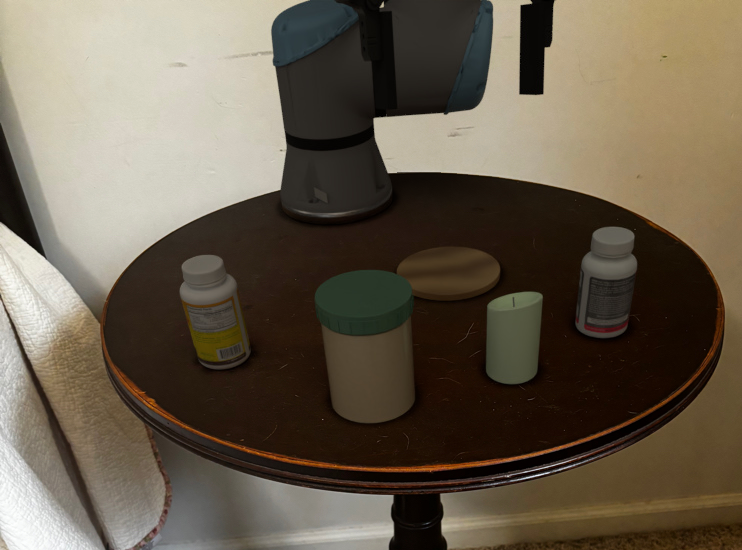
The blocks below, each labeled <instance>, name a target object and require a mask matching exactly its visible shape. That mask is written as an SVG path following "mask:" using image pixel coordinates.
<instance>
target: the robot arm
mask: <svg viewBox="0 0 742 550" xmlns="http://www.w3.org/2000/svg"><path fill="white" fill-rule="evenodd" d="M529 1H530V2H531V3H524V4H520V6H519V8H520V9H519V10H520V11H519V69H518V70H519V76H518V77H519V78H518V81H519V83H518V84H519V85H518V95H520V96H542V95H544V92H545V91H544V90H545V56H546V48H551V46H552V43H553V37H554V35H553V33H554V32H553V31H554V29H553V28H554V6H555V5H554V4H555V2H556V0H529ZM382 5H383V6H382ZM493 35H494V5H493V2H492V1H491V0H305V1H302V2H300V3H297V4H295V5H292V6H290V7H288V8H285V9H284V10H283V11H282V12H280V13H279V14H278V15H277V16H276V17H275V18H274V20H273V22H272V25H271V28H270V36H271V44H272V55H273V57H272V65H273V67H274V69H275V75H276V81H277V88H278V96H279V102H280V110H281V116H282V117H281V118H282V123H283V130H284V137H285V144H286V146H285V147H286V149H285V155H284V156H285V157H284V163H283V170H282V176H281V183H280V190H279V191H280V192H279V193H280V195H279V196H280V203H281V209H282V212H284V214H286V215H287V216H288V217H290V218H292V219H294V220H297V221H300V222H304V223H309V224H315V225H316V224H317V225H335V224H336V225H338V224H347V223H353V222H357V221H362V220H365V219H368V218H371V217H373V216H376V215H378V214H380V213H382V212H383V211H384V210H386V209H387V208H388V207H389V206H390V204H392V202H393V184H392V181H391V178H390V175H389V172H388V169H387V167H386V165H385V161H384V159H383V156H382V153H381V152H380V148H379V146H378V144H377V141H376V133H375V123H374V121H375V120H374V119H381V118H394V117H406V116H420V115H421V116H422V115H423V116H424V115H436V114H443V115H444V116H447V115H449V113H450V114H451V113H459V112H466V111H471V110H474V109H476V108H477V107H478V106H479V105H480V104H481V103H482V101H483V98H484V95H485V93H486V88H487V83H488V77H489V71H490V63H491V56H492V47H493Z"/></svg>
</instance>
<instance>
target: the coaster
mask: <svg viewBox="0 0 742 550" xmlns="http://www.w3.org/2000/svg"><path fill="white" fill-rule="evenodd" d="M396 274H398V275H400V276H402V277H403V278H405V279H406V280H407V281H408V282H409V283H410V284H411V287H412V295H413V296H414V297H417V298H421V299H424V300H429V301H437V302H438V301H440V302H452V301H462V300H467V299H472V298H475V297H478V296H482V295H483V294H485V293H487V292H489V291H490V290H491V289H493V288H494V287H496V285H497V284H498V283H499V281H500V277H501V266H500V263H499V261H498V260H497V259H496V258H495V257H493V256H492V255H491V254H489V253H487V252H485V251H483V250H479V249H475V248H471V247H466V246H465V247H464V246H439V247H431V248H427V249H424V250H420V251H417V252H414V253H413V254H411V255H409V256H407V257H406V258H404V259H403V260H402V261H401V262H400V263H399V265H398V266H397V268H396Z"/></svg>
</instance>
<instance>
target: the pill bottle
mask: <svg viewBox="0 0 742 550" xmlns="http://www.w3.org/2000/svg"><path fill="white" fill-rule="evenodd" d="M635 237H636V236H635V233H634V232H633V231H632V230H630V229H629V228H624V227H620V226H604V227H601V228H598V229H596V230H595V231H593V233H592V236H591V241H590V243H591V244H590V251H588V252H587V253H586V254H585V255H584V256H583V258H582V260H581V263H580V264H581V265H580V271H579V272H580V273H579V275H580V276H579V282H578V292H577V302H576V311H575V327H576V329H577V330H578V331H579V332H580V333H581V334H583V335H585V336H588V337H591V338H597V339H611V338H616V337H618V336H620V335H622V334H623V333H624V332H626V331H627V329H628V325H629V320H630V314H631V308H632V307H631V306H632V302H633V295H634V288H635V284H636V276H637V273H638V272H637V271H638V260H637V258H636V256H635V255H634V254H632V252H633V250H634V247H635Z"/></svg>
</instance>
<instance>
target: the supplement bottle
mask: <svg viewBox="0 0 742 550" xmlns="http://www.w3.org/2000/svg"><path fill="white" fill-rule="evenodd" d="M181 272H182V279H183V282H182V283H181V285H180V286H179V297H180V300H181V303H182V308H183V310H184V315H185V318H186V321H187V325H188V329H189V332H190V335H191V340H192V343H193V347H194V350H195V353H196V357H197V360H198V362H199V363H200V364H201V365H202V366H203V367H205V368H208V369H212V370H227V369H232V368H235V367H237V366H240V365H241V364H243V363H244V362H246V361H247V360H248V359H249V357H250V355H251V353H252V352H251V350H252V348H251V343H250V338H249V334H248V330H247V325H246V320H245V319H246V318H245V314H244V309H243V306H242V301H241V296H240V292H239V287H238V283H237V280H236V278H234V277H233V275H231V274H229V273H227V269H226V267H225V263H224V260H223V258H222V257H221V256H218V255H215V254H201V255H195V256H192V257H191V258H188V259H186V260H185V261H184V262H183V263H182V264H181Z"/></svg>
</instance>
